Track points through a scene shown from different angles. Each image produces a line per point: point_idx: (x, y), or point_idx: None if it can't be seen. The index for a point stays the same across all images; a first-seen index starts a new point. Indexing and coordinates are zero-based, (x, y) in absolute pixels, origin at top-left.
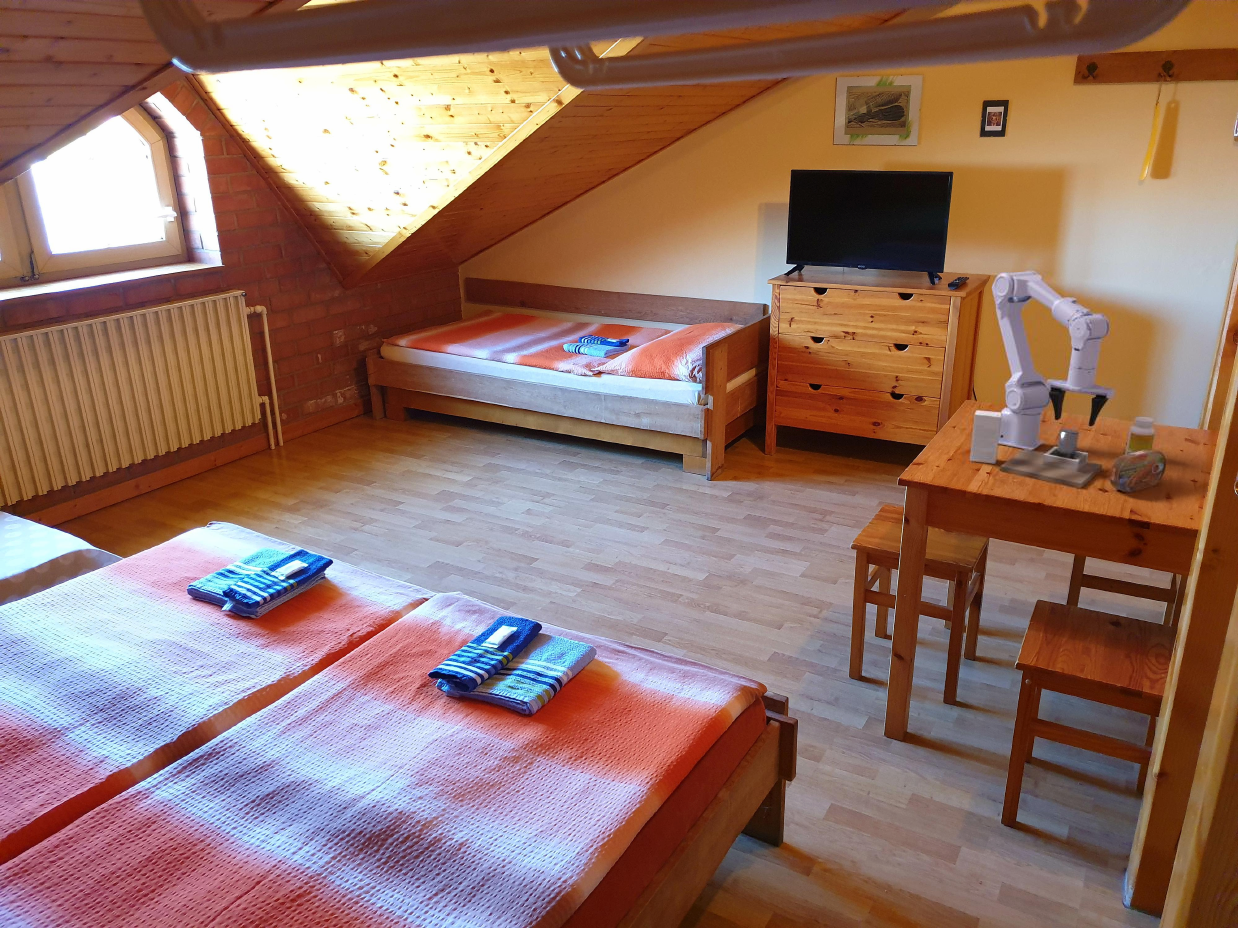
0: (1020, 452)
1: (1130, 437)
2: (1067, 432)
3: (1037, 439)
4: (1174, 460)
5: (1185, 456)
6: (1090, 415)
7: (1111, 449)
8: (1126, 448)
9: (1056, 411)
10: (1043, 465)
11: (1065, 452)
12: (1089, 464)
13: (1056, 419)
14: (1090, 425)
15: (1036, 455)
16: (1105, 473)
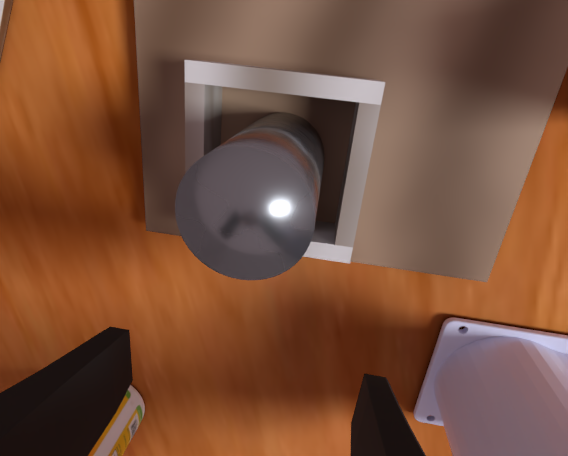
0: (505, 223)
1: (92, 450)
2: (251, 190)
3: (441, 394)
4: None
5: None
6: (59, 387)
7: (195, 432)
8: (130, 416)
9: (394, 437)
10: (371, 67)
11: (264, 122)
12: None
13: (375, 379)
14: (112, 329)
15: (423, 214)
16: (129, 181)
